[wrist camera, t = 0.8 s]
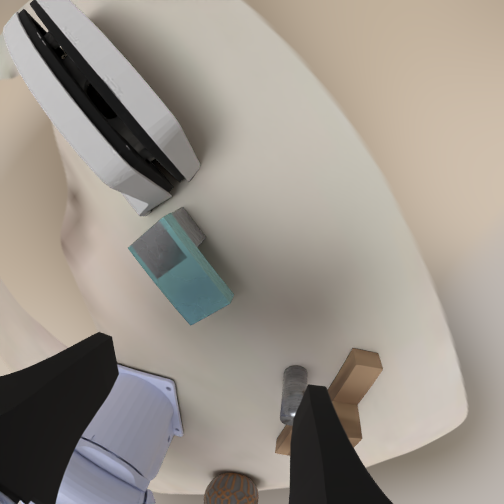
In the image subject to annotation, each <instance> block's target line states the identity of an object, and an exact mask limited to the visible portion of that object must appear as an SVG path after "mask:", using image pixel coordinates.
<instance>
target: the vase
mask: <svg viewBox="0 0 504 504" xmlns="http://www.w3.org/2000/svg"><path fill="white" fill-rule="evenodd" d="M204 504H258V490H257V487H256V485H255V484H254V483H253V481H252V480H251V479H250V478H248V477H247V476H244V475H241V474H237V473H224V474H221V475H219V476H217V477H216V478H214V479H213V480H212V481H211V482H210V483H209V485H208V487H207V489H206V491H205V495H204Z"/></svg>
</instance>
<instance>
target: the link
mask: <svg viewBox="0 0 504 504" xmlns="http://www.w3.org/2000/svg"><path fill="white" fill-rule="evenodd" d="M382 370H383V367H382V364H381V361H380V358H379V355H378V353H374V352H369V351H364V350H359V349H354V348H353V349H352V351H351V352H350V354H349V356H348V358H347V359H346V361H345V363H344V364H343V366H342V368H341V369H340V371H339V373H338V374H337V376H336V378H335V379H334V381H333V383H332V384H331V386H330V387H329V389H328V393H329V395H330V398H331V401H332V403H333V405H334V408H335V410H336V413H337V415H338V417H339V419H340V422H341V424H342V426H343V428H344V430H345V432H346V434H347V436H348V438H349V440H350V442H351V444H352V446H353V448H354V447H355V446H356V445H357V444H358V443H359V442H360V441H361V439H362V433H361V425H360V419H359V412H358V403H359V402H360V401H361V399H362V398H363V397H364V395H365V394H366V393H367V391H368V390H369V389H370V387H371V386H372V384H373V383H374V382H375V380H376V379H377V377H378V376H379V374H380V373H381V371H382ZM291 434H292V426H290V425H286V426H285V428H284V429H283V431H282V432H281V434H280V435H279V437H278V438H277V442H276V450H275V453H277V454H283V455H289V456H290V442H291Z"/></svg>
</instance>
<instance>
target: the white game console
mask: <svg viewBox="0 0 504 504" xmlns="http://www.w3.org/2000/svg"><path fill="white" fill-rule="evenodd" d="M30 5H31V7H32V8H33V10H34V11H35V13H36V14H37V16H38V17H39V18H40V20H41V21H42V22H43V24H44V25H45V26H46V28H47V29H48V30H49V31H48V32H46V31H45V30H44V29H43V28H42V27H41V26H40V25H39V24H38V23H37V22H36V21H35V20H34V19H33V18H32V17H31V16H30V14H29V13H28V12H27V11H26V10H25V9H23V10H22V11H21V12H20V13H18V12H16V13H15V14H14V15H13V16H12V17H11V19H10V20H9V21H8V22H7V24H6V25H5V26H4V28H3V33H4V38H5V42H6V45H7V47H8V50H9V53H10V55H11V57H12V60H13V62H14V64H15V66H16V67H17V69H18V71H19V73H20V74H21V76H22V78H23V80H24V81H25V83H26V85H27V86H28V88H29V90H30V91H31V93H32V94H33V96H34V97H35V99H36V100H37V101H38V103H39V104H40V106H41V107H42V109H43V110H44V111H45V113H46V114H47V116H48V117H49V118H50V120H51V121H52V123H53V124H54V125H55V127H56V128H57V129H58V131H59V132H60V133H61V134H62V135H63V137H64V138H65V139H66V140H67V142H68V143H69V144H70V145H71V146H72V148H73V149H74V150H75V151H76V152H77V154H78V155H79V156H80V157H81V158H82V159H83V161H84V162H85V163H86V164H87V165H88V166H89V167H90V169H91V170H92V171H93V172H94V173H95V174H96V175H97V176H98V177H99V178H100V180H101V181H103V182H104V183H105V184H106V185H108V186H109V187H110V188H112V189H114V190H117V191H119V192H121V194H122V195H123V196H124V197H125V199H126V200H127V201H128V202H129V204H130V205H131V206H132V207H133V209H134V210H135V211H136V212H137V213H138V215H139V216H147V215H148V214H150V213H151V209H152V208H154V207H156V206H157V205H159V204H160V203H162V202H164V201H165V200H167V199H169V198H170V197H172V196H171V195H170V193H169V191H170V190H171V189H172V188H173V186H172V185H171V184H170V182H169V181H168V180H167V179H166V178H165V177H164V175H163V174H162V173H161V172H160V171H159V169H158V168H157V167H156V166H155V165H154V164H152V163H151V162H150V161H152V160H153V159H156V160H157V161H158V162H159V163H160V164H161V165H163V166H164V167H165V168H166V169H167V170H168V171H169V172H170V173H171V174H172V175H173V176H174V177H175V178H176V179H177V180H178V181H179V182H181V181H182V180H183V179H184V178H186V179H187V181H188V182H189V181H190V180H191V178H192V177H193V176H194V175H195V173H196V172H197V171H198V169H199V168H200V166H201V165H200V163H199V161H198V159H197V157H196V155H195V153H194V151H193V149H192V147H191V145H190V143H189V141H188V139H187V137H186V135H185V133H184V131H183V129H182V127H181V126H180V124H179V123H178V121H177V120H176V118H175V117H174V115H173V114H172V113H171V112H170V110H169V109H168V108H167V107H166V106H165V104H164V103H163V102H162V101H161V99H160V98H159V97H158V96H157V95H156V93H155V92H154V91H153V90H152V89H151V87H150V86H149V85H148V84H147V83H146V81H145V80H144V79H143V78H142V77H141V76H140V74H139V73H138V72H137V71H136V70H135V69H134V67H133V66H132V65H131V64H130V63H129V62H128V60H127V59H126V58H125V57H124V56H123V55H122V54H121V53H120V52H119V50H118V49H117V48H116V47H115V46H114V45H113V44H112V43H111V41H110V40H109V39H108V38H107V37H106V36H105V35H104V34H103V33H102V32H101V31H100V30H99V29H98V27H97V26H96V25H95V24H94V23H93V22H92V21H91V20H90V19H89V18H88V17H87V16H86V15H85V14H84V13H83V12H82V11H81V10H80V9H79V8H78V7H77V6H76V5H75V4H74V3H73V2H71V1H70V0H33V1H32V2H31V3H30ZM60 46H61V47H62V48H63V50H64V51H65V52H66V53H67V56H66V57H65V58H64V59H62V58H61V56H62V55H63V54H64V51H63V50H62V49H61V48H60ZM90 83H91V84H92V86H93V87H94V88H95V89H96V90H97V92H98V93H99V94H100V95H101V96H102V98H103V99H104V100H105V101H106V102H107V104H108V105H109V106H110V107H111V108H112V110H113V111H114V112H115V113H116V114H117V116H116V117H115V118H112V119H108V118H106V117H105V116H104V115H103V114H102V113H101V111H100V110H99V109H98V108H97V106H96V105H95V104H94V103H93V101H92V100H91V99H90V97H89V96H88V94H87V88H88V86H89V84H90Z"/></svg>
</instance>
